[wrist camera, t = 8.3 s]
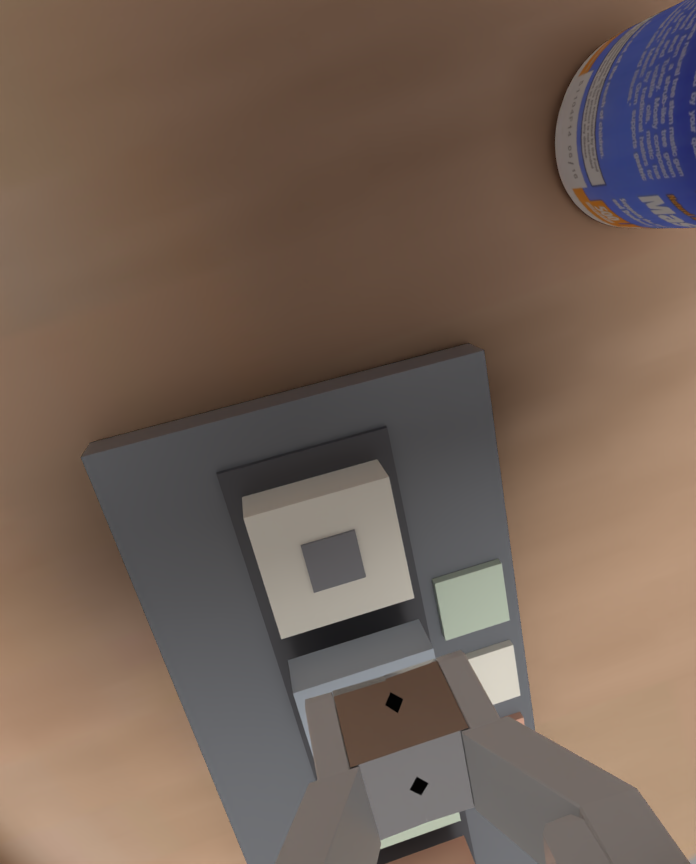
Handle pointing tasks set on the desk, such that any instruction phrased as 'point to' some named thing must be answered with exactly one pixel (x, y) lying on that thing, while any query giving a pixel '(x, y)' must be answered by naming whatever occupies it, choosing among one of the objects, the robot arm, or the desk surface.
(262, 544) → the cream key
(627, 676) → the desk surface
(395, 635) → the slate key
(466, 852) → the terracotta key
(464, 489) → the keypad base
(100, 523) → the desk surface
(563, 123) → the pill bottle
